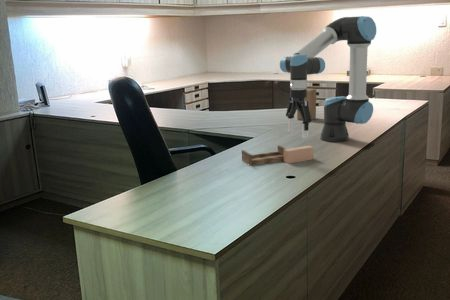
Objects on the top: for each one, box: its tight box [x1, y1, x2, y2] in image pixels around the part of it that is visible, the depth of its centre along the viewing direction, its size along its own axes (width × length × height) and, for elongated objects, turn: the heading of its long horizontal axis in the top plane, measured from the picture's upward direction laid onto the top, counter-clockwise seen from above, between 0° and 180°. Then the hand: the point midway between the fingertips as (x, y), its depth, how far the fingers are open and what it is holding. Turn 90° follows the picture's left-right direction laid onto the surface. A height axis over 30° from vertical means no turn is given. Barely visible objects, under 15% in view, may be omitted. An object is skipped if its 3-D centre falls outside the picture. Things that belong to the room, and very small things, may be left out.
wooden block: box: [296, 87, 317, 121], centre depth 324 cm, size 10×10×20 cm
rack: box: [241, 145, 287, 166], centre depth 231 cm, size 20×10×5 cm, turn 110°
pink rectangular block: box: [283, 145, 315, 164], centre depth 229 cm, size 14×4×6 cm, turn 115°
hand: (298, 134), depth 227 cm, fingers open, 13 cm apart
